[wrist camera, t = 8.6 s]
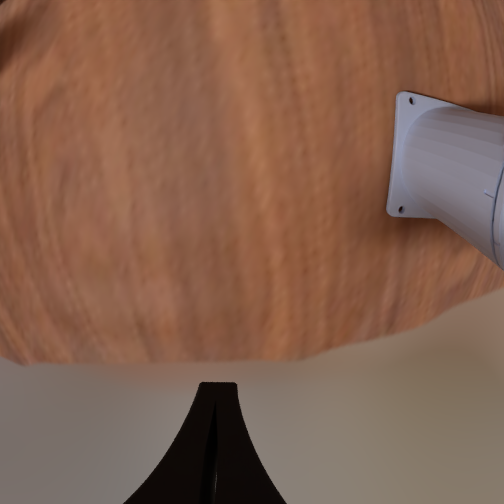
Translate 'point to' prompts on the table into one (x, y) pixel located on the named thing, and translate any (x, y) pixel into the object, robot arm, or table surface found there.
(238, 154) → the table surface
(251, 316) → the table surface
